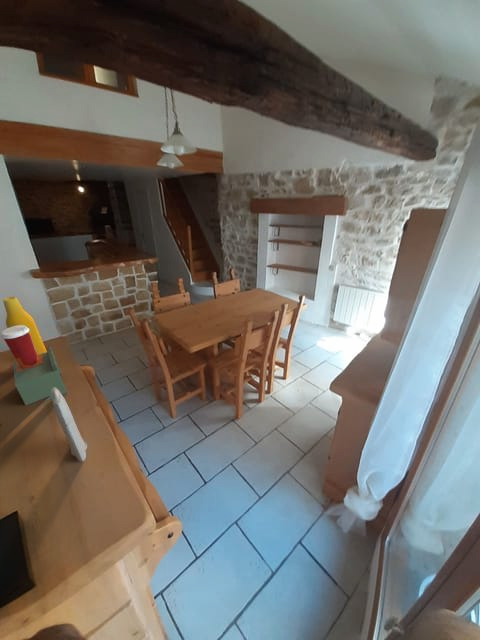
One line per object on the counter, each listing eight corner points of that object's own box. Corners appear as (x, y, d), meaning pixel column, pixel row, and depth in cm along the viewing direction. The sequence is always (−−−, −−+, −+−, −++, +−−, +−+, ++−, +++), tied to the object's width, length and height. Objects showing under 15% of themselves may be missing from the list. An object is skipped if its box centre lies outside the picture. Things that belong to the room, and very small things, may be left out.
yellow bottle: (49, 357, 115) (25, 298, 102) (24, 365, 109) (-6, 305, 96) (45, 349, 121) (22, 292, 108) (21, 356, 115) (-7, 298, 102)
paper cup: (45, 355, 97) (32, 323, 91) (35, 367, 91) (19, 334, 84) (23, 357, 96) (8, 325, 90) (10, 370, 89) (-7, 336, 83)
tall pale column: (91, 458, 72) (67, 401, 62) (75, 467, 70) (47, 409, 60) (83, 433, 79) (61, 379, 69) (68, 441, 77) (42, 385, 67)
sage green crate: (27, 408, 88) (12, 379, 82) (24, 384, 99) (11, 357, 93) (67, 393, 95) (55, 365, 89) (60, 372, 106) (50, 346, 100)
